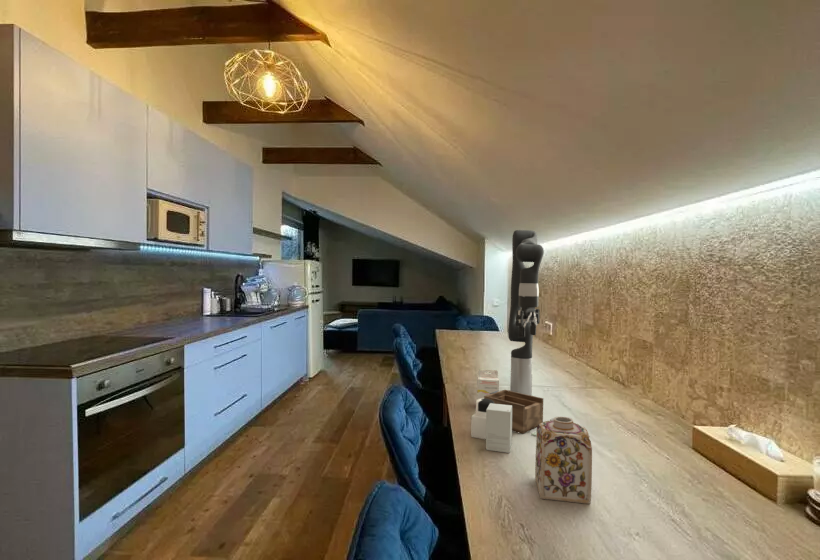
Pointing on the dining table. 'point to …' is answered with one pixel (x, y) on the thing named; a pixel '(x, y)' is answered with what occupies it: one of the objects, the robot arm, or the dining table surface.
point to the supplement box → (499, 427)
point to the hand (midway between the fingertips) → (527, 335)
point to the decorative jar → (563, 461)
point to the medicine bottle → (480, 418)
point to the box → (521, 409)
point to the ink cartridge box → (487, 383)
